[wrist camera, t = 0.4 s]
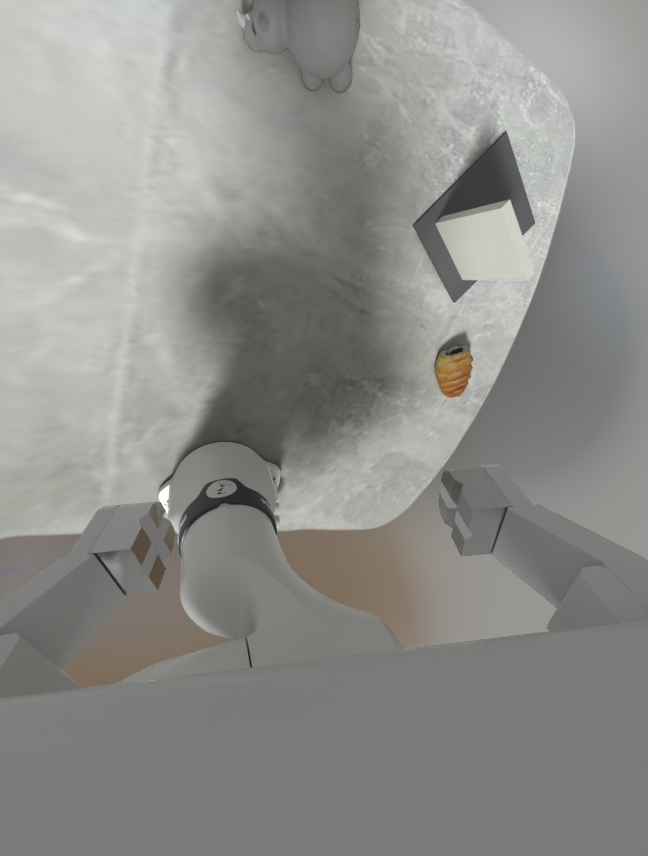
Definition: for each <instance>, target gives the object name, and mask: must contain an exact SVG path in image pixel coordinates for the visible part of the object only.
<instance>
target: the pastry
mask: <svg viewBox="0 0 648 856" xmlns="http://www.w3.org/2000/svg"><path fill="white" fill-rule="evenodd" d="M472 361H473V357H472V356H471V355H470V351H469V348H468V346H466V345H462V346H454V347H452V348H450V349H449V350H444V351H441V352H440V354H439V355H438V358H437V359H436V362H435V374H436V378H437V381H438V384H439V387H440V389H441V391H442V393H443V394H444V395H446V396H447V397H456V396H460V395H461V394H462V392H464V390H465V388H466V385H468V379H469V378H470V377H471V375H470V372H471V370H472V365H471V362H472Z"/></svg>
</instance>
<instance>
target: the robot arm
mask: <svg viewBox="0 0 648 856" xmlns="http://www.w3.org/2000/svg"><path fill="white" fill-rule="evenodd" d="M280 475H281V472H280V468H279V467H278V466H277V465H275V464H273V463H270V462H267V461H265V460H263V459H262V458H261V457H260V456H259V455H258V454H257V453H256V452H255V451H253V450H252V449H250V448H248V447H247V446H244V445H242V444H238V443H233V442H216V443H211V444H207V445H204V446H202V447H200V448H198V449H196V450H194V451H193V452H191V453H190V454H189V455H187V456H186V457H185V458H184V459H183V460H182V462H181V463H180V464H179V466H178V468H177V470H176V472H175V474H174V475H173V477H172V478H171V479H170V480H169V481H168V482H166V483H165V484H164V485H163V486H162V487H161V488H160V489H159V491H158V498H159V500H160V502H161V503H160V502H147V503H135V504H123V505H116V506H104V507H102V508H101V509H99V510H98V511H97V512H96V514H95V515H94V517H93V518H92V520H91V521H90V523H89V524H88V526H87V527H86V529H85V530H84V532H83V533H82V535H81V536H80V538H79V539H78V541H77V542H76V544H75V545H74V547H73V548H72V550H71V551H70V553H69V554H68V556H67V557H63V558H60V559H58V560H57V561H55V562H54V563H53V564H51V565H50V566H49V567H47V568H46V569H44V570H43V571H42V572H41V573H39V574H38V575H36V576H35V577H33V578H32V579H31V580H29V581H28V582H27V583H25V584H24V585H23V586H21V587H20V588H19V589H17V590H16V591H14V592H13V593H11V594H10V595H9V596H7V597H6V598H4V599H3V600H2V601H0V856H648V560H646V559H645V558H643V557H641V556H639V555H637V554H636V553H633V552H632V551H630V550H628V549H626V548H624V547H622V546H620V545H618V544H616V543H614V542H612V541H610V540H608V539H606V538H604V537H602V536H600V535H598V534H596V533H594V532H592V531H590V530H588V529H586V528H584V527H582V526H580V525H579V524H577V523H574V522H572V521H571V520H569V519H567V518H565V517H563V516H561V515H559V514H557V513H555V512H553V511H551V510H549V509H547V508H545V507H543V506H541V505H539V504H537V505H533V504H532V503H531V502H530V500H529V499H528V498H527V497H526V495H525V494H524V493H523V492H522V491H521V489H520V488H519V487H518V486H517V485H516V483H515V482H514V481H513V480H512V479H511V477H510V476H509V475H508V474H507V473H506V471H505V470H504V469H503V468H502V467H501V466H500V465H498V464H492V465H483V466H479V467H478V466H477V467H468V468H459V469H451V470H445V471H444V473H443V474H442V483H443V484H444V486H445V487H444V488H443V489H442V490H441V491H440V492H439V500H438V501H439V509H440V513H441V516H442V518H443V520H444V522H445V524H447V525H448V526H450V527H451V528H453V530H452V535H451V537H452V539H453V541H454V543H455V545H456V547H457V549H458V551H459V553H460V555H461V556H470V555H481V554H492V556H493V557H495V558H496V559H497V560H498V561H500V562H501V563H502V564H503V565H504V566H506V567H507V568H508V569H509V570H511V571H512V572H513V573H514V574H515V575H517V576H518V577H519V578H520V579H522V580H523V581H524V582H525V583H527V584H528V585H529V586H530V587H531V588H533V589H534V590H535V591H536V592H538V593H539V594H540V595H541V596H543V597H544V598H545V599H546V600H547V601H549V602H550V603H551V604H552V605H554V606H555V607H556V608H557V610H556V611H555V613H554V615H553V616H552V618H551V620H550V621H549V624H548V626H547V629H548V630H549V632H541V633H533V634H524V635H516V636H508V637H499V638H491V639H483V640H475V641H467V642H458V643H450V644H442V645H434V646H425V647H417V648H409V649H404V647H403V645H402V644H401V642H400V640H399V639H398V637H397V636H396V635H395V634H394V632H393V631H392V630H391V629H390V628H389V627H388V626H387V625H386V624H385V623H384V622H383V621H382V620H381V619H379V618H378V617H376V616H375V615H374V614H372V613H369V612H366V611H361V610H357V609H354V608H351V607H348V606H345V605H342V604H339V603H338V602H335V601H333V600H331V599H329V598H327V597H326V596H324V595H322V594H321V593H319V592H318V591H316V590H314V589H313V588H312V587H310V586H309V585H308V584H306V583H305V582H304V581H303V580H302V579H301V578H299V576H298V575H297V574H296V573H295V572H294V571H293V570H292V569H291V567H290V566H289V564H288V563H287V560H286V558H285V556H284V554H283V552H282V549H281V547H280V544H279V542H278V539H277V536H276V535H277V529H278V528H279V526H280V521H279V516H278V515H275V512H278V511H279V503H277V499H278V490H279V482H280ZM273 477H274V479H273ZM165 511H166V512H167V514H168V519H166V518H164V517H163V515H164V513H165ZM174 529H175V531H176V532H177V534H178V545H179V553H180V555H181V558H182V562H181V585H180V598H181V602H182V605H183V608H184V610H185V611H186V613H187V615H188V616H189V617H190V618H191V619H192V620H193V621H194V622H195V623H196V624H197V625H198V626H199V627H201V628H202V629H203V630H205V631H207V632H209V633H211V634H214V635H218V636H222V637H226V638H231V639H234V641H231V642H227V643H224V644H221V645H217V646H214V647H210V648H207V649H204V650H200V651H197V652H193V653H190V654H187V655H183V656H180V657H177V658H173V659H170V660H166V661H163V662H159V663H157V664H154V665H152V666H150V667H148V668H146V669H144V670H142V671H140V672H138V673H137V674H134V675H132V676H130V677H128V678H126V679H124V680H122V681H120V682H118V683H116V684H112V685H104V686H95V687H87V688H79V689H74V688H75V686H76V684H75V681H74V679H73V678H72V677H70V676H69V675H68V674H66V673H65V672H64V671H63V670H62V668H63V667H64V666H65V665H66V664H67V663H68V662H69V660H70V659H71V658H72V657H73V656H74V655H75V653H76V652H77V651H78V650H79V649H80V648H81V647H82V646H83V645H84V644H85V643H86V641H87V640H88V639H89V638H90V637H91V636H92V635H93V634H94V633H95V631H96V630H97V629H98V628H99V627H100V626H101V625H102V624H103V622H104V621H105V620H106V619H107V618H108V617H109V616H110V615H111V614H112V612H113V611H114V610H115V609H116V608H117V607H118V606H119V605H120V604H121V602H122V601H123V600H124V599H125V598H126V596H127V595H133V594H140V593H148V592H154V591H158V589H159V586H160V584H161V581H162V578H163V575H164V572H165V570H166V567H165V565H164V563H163V561H165V560H166V559H167V558H168V557H169V556H170V555H171V553H172V550H173V547H174V540H175V532H174Z"/></svg>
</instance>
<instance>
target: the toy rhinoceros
mask: <svg viewBox="0 0 648 856" xmlns="http://www.w3.org/2000/svg"><path fill="white" fill-rule="evenodd" d="M236 16H237V20H238V22H239V24H240V26H241V27H242V30H243V37H244V39H245V40H246V42H247V44H248V45H249V47H250V48H251V49H252V50H254V51H256V52H262V51H264V50H267V51H268V52H270V53H272V54H279V53H282V52H283V51H284V50H285V49H289V50H290V51H291V53H292V55H293V57H294V59H295V61H296V62H297V64H298V65H299V67H300V68H301V77H302V81H303V83H304V85H305V87H306V88H307V89H309V90H311V91H316V90H318V89H319V88H320V87H321V86H322V84H323V82H324V79H327V78H329V83H330V86H331V88H332V89H333V90H334V91H335V92H336V93H339V94H341V93H344V92H345V91H346V90H347V89H348V88H349V87H350V85H351V82H352V68H351V65H350V62H349V60H350V59H351V57H352V55H353V53H354V50H355V47H356V44H357V40H358V35H359V29H360V12H359V4H358V0H254V1H253V8H252V9H251V10H250V11H249V12H248V13H246V14H243V13H241V12H240V11H239V9H237V11H236Z"/></svg>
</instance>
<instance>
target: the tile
mask: <svg viewBox="0 0 648 856" xmlns="http://www.w3.org/2000/svg"><path fill="white" fill-rule="evenodd" d="M435 224H436V227H437V229H438V231H439V233H440V235H441V237H442V239H443V241H444V243H445V245H446V247H447V249H448V251H449V253H450V255H451V257H452V260H453V262H454V264H455V266H456V268H457V270H458V272H459V274H460V276H461V278H462V280H528V279H529V278H530V277H531V276H532V275H533V274H534V273H535V271H534V268H533V265H532V262H531V259H530V257H529V254H528V251H527V248H526V245H525V242H524V239H523V236H522V233H521V230H520V227H519V224H518V221H517V218H516V216H515V213H514V210H513V207H512V204H511V201H510V199H509V200H505V201H501V202H497V203H493V204H489V205H485V206H481V207H478V208H474V209H470V210H466V211H462V212H458V213H454V214H450V215H446V216H442V217H441V218H440V219H439V220H438V221H437V222H436V223H435Z"/></svg>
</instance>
